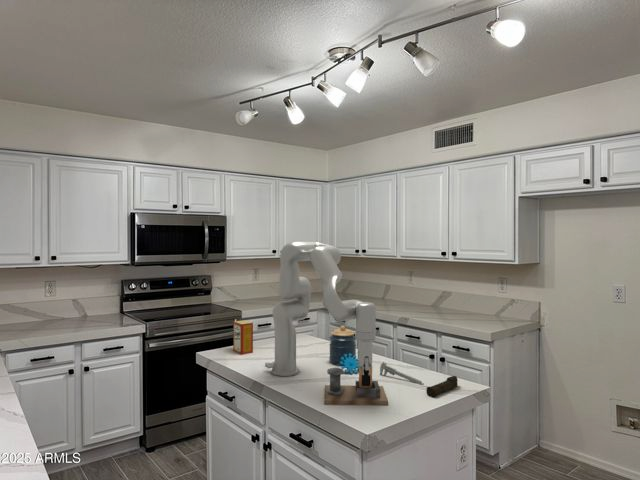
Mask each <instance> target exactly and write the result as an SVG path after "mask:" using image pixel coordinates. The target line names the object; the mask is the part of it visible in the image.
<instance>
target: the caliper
mask: <svg viewBox="0 0 640 480" xmlns="http://www.w3.org/2000/svg"><path fill="white" fill-rule="evenodd" d="M388 373H389V374H390V375H392V376H398V377H401V378H402V379H405V380H408V381H410V382H412V383H415V384H417V385H422V386H423V385H425V383H424V382H422V380H421V379H417V378H416V377H413V376H411V375H408V374H406V373H403V372H401V371H399V370H397V369H396V368H394V367H391V366H390V365H387V362H385V361H382V363H381V364H380V368H379V375H380V376H382V375H383V377H386V376H387V375H388Z"/></svg>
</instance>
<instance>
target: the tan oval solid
mask: <svg viewBox="0 0 640 480" xmlns="http://www.w3.org/2000/svg"><path fill="white" fill-rule="evenodd" d="M368 366H369V365H368ZM363 367H365V365H363ZM364 370H365V368H364ZM358 381H359V387H360V388H372V381H373V366H372V367H371V368H370V386H362V367H361V368H360V367H359V370H358Z"/></svg>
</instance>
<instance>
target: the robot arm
mask: <svg viewBox="0 0 640 480" xmlns="http://www.w3.org/2000/svg"><path fill="white" fill-rule="evenodd" d="M279 259H280V270H279V272H280V273H279V278H278V279H279V280H278V291H277V292H278V295H279V297H280V298H281V299H283V300H286V301H280V302H278V303H276V304H275V305H274V306H273V308H272V318H273V324H274V326H273V327H274V361H272V362H264V368H266V369H271V374H272V375H274V376H277V377H278V376H279V377H291V376H292V377H293V376H296V375H298V374H299V373H301V372H300V368H299V367H297V331H296V328H295V326H294V324H293V323H294V322H299V321H303V320H305V319H306V318H307V317H308V315H309V311H310V305H311V304H310V303H311V297H312V285H311V283H310V282H311V281H310V280H309V279H308V278H307V277H305V276H300V272H301V271H300V265H299V262H311V265H313V266H312V267H314V270H315V271H316V273H317V275H318V276H319V278H320V280H321V282H322V284H323V289H322V297H323V302H324V305H325V307H326V309H327V311H328V313H329V314H330V316H331V317H332V318H333V319H334V320H335V321H337V322H341V323H342V322H346V321H351V320H352V321H353V320H355V337H356V340H357V341H358V342H357V343H358V344H357V359H358V361H357V362H358V366H359V367H360V368H361V367H362V386H370V368H371V367H372V368H373V342H374V341H376V338H377V337H376V333H377V331H376V330H377V329H376V328H377V327H376V325H377V324H376V320H377V319H376V316H377V314H376V313H377V310H376V308H377V307H376V305H375V304H374V302H371V301H370V302H368V301H361V300H359V299H349V300H348V299H347V300H341V298H340V297H339V295H338V293H337V290H336V289H337V288H336V286H337V284H338V283H340V281H341V280H342V278H343V274H342V271H341V269H339V266H338V264H339V263H340V262H341V259H342V256H341V252H340V250H339V249H338V248H337V247H336V246H334V245H331V244H326V243H322V242H318V241H292V242H289V243H286V244H285V245H284V246H283V247H282V248H281V251H280V256H279ZM292 299H293V300H292ZM356 340H355V341H356ZM363 365H365V367H363ZM368 365H369V366H368ZM364 368H365V370H364Z"/></svg>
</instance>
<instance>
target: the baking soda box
mask: <svg viewBox="0 0 640 480" xmlns="http://www.w3.org/2000/svg"><path fill="white" fill-rule="evenodd" d="M232 323H233V327H232V330H233V331H232V333H233V334H232V336H233V339H232V340H233V342H232V343H233V345H232V346H233V349H232V351H233V352H234V353H237V354H239V355H241V356H243V355H248V354H254V323H253V322H252V321H249V320H245V319H242V320H234V321H232Z"/></svg>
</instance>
